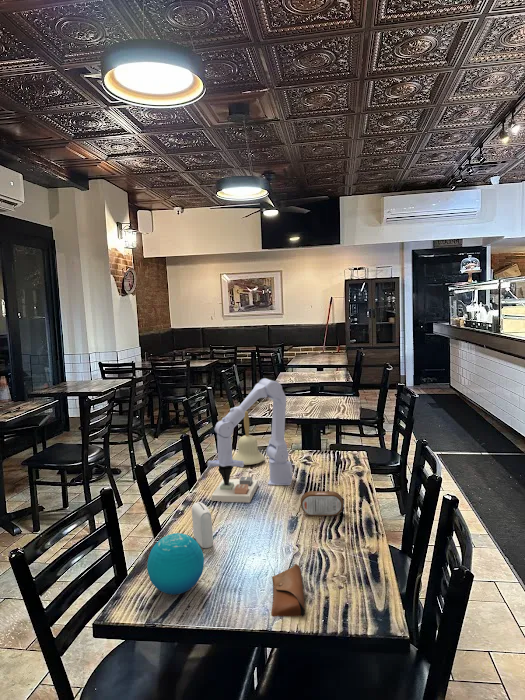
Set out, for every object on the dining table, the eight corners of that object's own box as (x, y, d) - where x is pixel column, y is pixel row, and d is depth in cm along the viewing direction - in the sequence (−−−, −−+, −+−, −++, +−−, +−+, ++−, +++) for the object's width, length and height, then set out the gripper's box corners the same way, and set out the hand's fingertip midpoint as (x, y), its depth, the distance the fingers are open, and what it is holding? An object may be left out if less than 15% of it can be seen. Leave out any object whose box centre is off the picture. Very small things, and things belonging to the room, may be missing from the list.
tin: (343, 512, 169) (342, 490, 168) (344, 516, 166) (343, 493, 165) (301, 513, 171) (300, 490, 170) (300, 517, 168) (299, 494, 167)
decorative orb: (169, 570, 138) (166, 520, 136) (215, 579, 132) (212, 527, 131) (137, 600, 124) (133, 545, 123) (187, 612, 118) (183, 555, 117)
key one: (252, 484, 196) (252, 476, 196) (250, 488, 192) (250, 480, 192) (242, 483, 197) (241, 476, 197) (239, 487, 193) (239, 480, 193)
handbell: (252, 469, 218) (249, 416, 215) (226, 465, 226) (223, 413, 224) (270, 459, 231) (268, 409, 228) (245, 455, 239) (242, 406, 236)
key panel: (258, 485, 199) (257, 479, 198) (249, 502, 182) (249, 496, 182) (223, 484, 201) (222, 479, 201) (211, 501, 185) (211, 495, 184)
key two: (248, 491, 189) (248, 483, 188) (246, 496, 184) (245, 488, 184) (237, 491, 189) (237, 483, 189) (235, 495, 185) (234, 488, 185)
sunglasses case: (270, 575, 133) (281, 554, 132) (292, 586, 133) (303, 566, 132) (270, 617, 115) (283, 594, 114) (296, 630, 115) (309, 607, 114)
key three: (233, 489, 194) (233, 481, 194) (231, 493, 190) (230, 485, 189) (223, 489, 195) (223, 481, 194) (220, 493, 190) (220, 485, 190)
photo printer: (191, 536, 157) (189, 500, 156) (204, 533, 159) (202, 497, 158) (202, 550, 148) (199, 512, 147) (215, 546, 150) (212, 508, 149)
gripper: (204, 453, 188) (206, 487, 189) (240, 454, 185) (242, 488, 187) (209, 448, 195) (211, 480, 196) (244, 448, 192) (246, 481, 194)
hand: (226, 483), depth 192 cm, fingers closed, pressing on key three
